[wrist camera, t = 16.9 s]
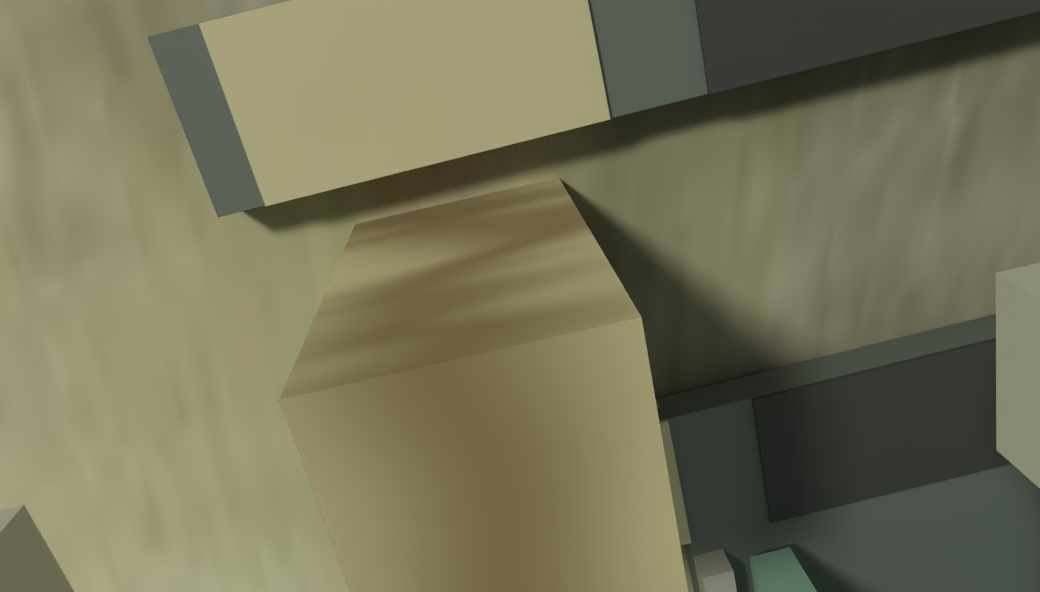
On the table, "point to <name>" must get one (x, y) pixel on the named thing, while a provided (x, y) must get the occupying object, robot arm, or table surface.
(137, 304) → the table surface
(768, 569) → the teal cover
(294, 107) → the puzzle board
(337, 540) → the maple block
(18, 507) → the robot arm
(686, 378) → the table surface
